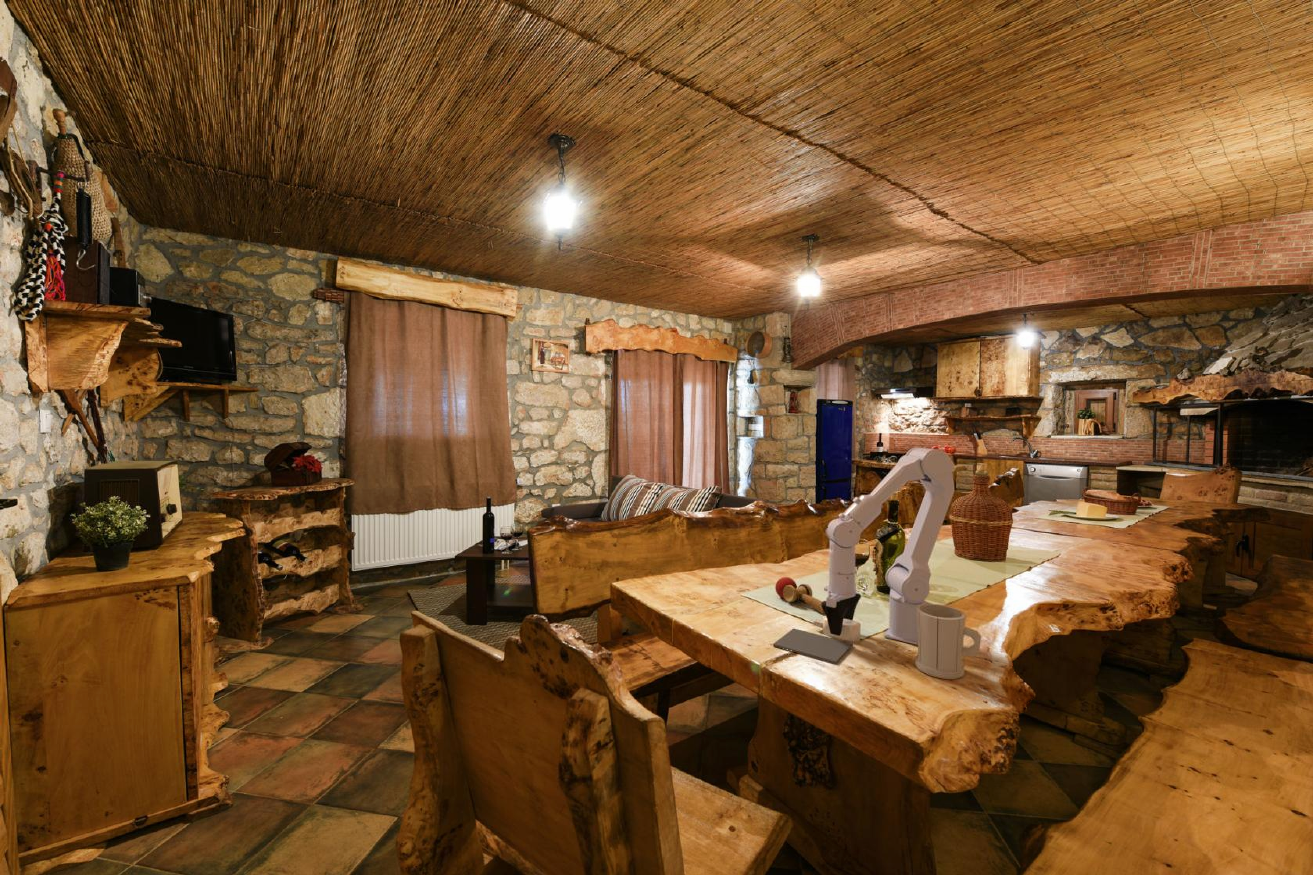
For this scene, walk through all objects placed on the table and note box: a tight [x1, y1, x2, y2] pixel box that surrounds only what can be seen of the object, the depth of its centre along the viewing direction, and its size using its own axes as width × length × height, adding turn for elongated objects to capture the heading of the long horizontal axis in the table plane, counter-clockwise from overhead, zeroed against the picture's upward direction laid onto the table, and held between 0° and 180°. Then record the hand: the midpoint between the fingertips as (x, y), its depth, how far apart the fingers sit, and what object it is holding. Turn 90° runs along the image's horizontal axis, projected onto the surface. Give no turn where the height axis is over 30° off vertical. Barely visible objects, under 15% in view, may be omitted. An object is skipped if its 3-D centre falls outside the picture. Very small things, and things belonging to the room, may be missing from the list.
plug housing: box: [812, 615, 861, 643], centre depth 125 cm, size 11×4×4 cm, turn 52°
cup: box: [914, 603, 982, 680], centre depth 107 cm, size 10×9×12 cm
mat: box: [772, 627, 854, 665], centre depth 118 cm, size 14×11×1 cm
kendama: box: [774, 576, 826, 616], centre depth 145 cm, size 8×6×18 cm
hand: (841, 628), depth 124 cm, fingers open, 7 cm apart
